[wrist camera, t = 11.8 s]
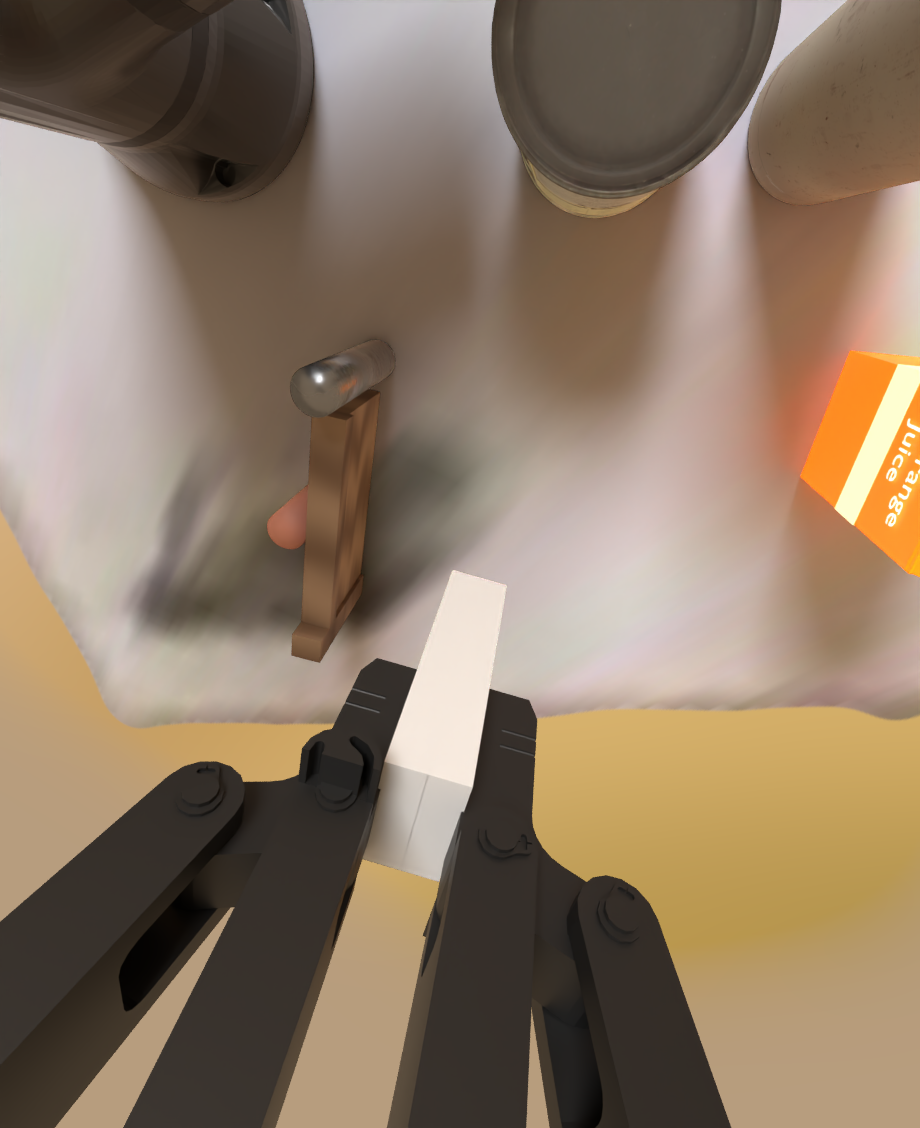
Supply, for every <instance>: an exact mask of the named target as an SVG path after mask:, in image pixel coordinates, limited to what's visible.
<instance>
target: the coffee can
mask: <svg viewBox="0 0 920 1128" xmlns="http://www.w3.org/2000/svg"><path fill="white" fill-rule="evenodd" d="M781 1H782V0H496V2H495V8H494V16H493V22H492V68H493V76H494V82H495V88H496V93H497V97H498V101H499V104H500V108H501V111H502V114H503V117H504V120H505V122H506V124H507V127H508V129H509V131H510V133H511V135H512V136H513V138H514V140H515V142H516V144H517V145H518V147H519V149H520V150H521V153H522V157H523V160H524V164H525V166H526V168H527V171H528V173H529V175H530V177H531V179H532V181H533V182H534V184H535V186H536V187H537V189H538V190H539V191H540V192H541V194H542V195H543V196H544V197H545V198H546V199H548V200H549V201H550V202H551V203H552V204H554V205H555V206H557V207H558V208H560V209H562V210H564V211H565V212H568V213H570V214H573V215H577V216H581V217H587V218H602V217H609V216H614V215H617V214H620V213H623V212H626V211H628V210H630V209H632V208H634V207H635V206H637V205H639V204H640V203H642V202H643V201H645V200H646V199H647V198H649V197H650V196H651V195H652V194H654V193H655V192H656V191H657V190H658V189H659V188H661V187H663V186H665V185H667V184H669V183H671V182H673V181H674V180H676V179H678V178H679V177H681V176H682V175H684V174H685V173H687V172H688V171H690V170H691V169H693V168H694V167H695V166H696V165H698V164H699V163H700V162H701V161H703V160H704V159H705V158H706V157H707V156H708V155H709V154H710V153H711V152H712V151H713V150H714V149H715V148H716V147H717V146H718V145H719V144H720V143H721V142H722V141H723V140H724V138H725V137H726V136H727V135H728V133H729V132H730V131H731V129H732V128H733V126H734V125H735V124H736V122H737V121H738V119H739V118H740V117H741V115H742V114H743V112H744V110H745V109H746V107H747V106H748V104H749V102H750V100H751V99H752V97H753V95H754V93H755V91H756V89H757V87H758V85H759V83H760V80H761V78H762V76H763V73H764V71H765V68H766V65H767V63H768V60H769V57H770V54H771V51H772V48H773V45H774V40H775V36H776V32H777V28H778V23H779V18H780V13H781Z"/></svg>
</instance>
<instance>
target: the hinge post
mask: <svg viewBox="0 0 920 1128" xmlns="http://www.w3.org/2000/svg"><path fill="white" fill-rule="evenodd" d="M394 367H395V356H394V353H393V351H392V349H391V348H390V346H389V345H388V344H386V343H385V342H383V341H381V340H370V341H367V342H365V343H362V344H360V345H357V346H355V347H352V348H350V349H347V350H345V351H342V352H340V353H337V354H335V355H332V356H330V357H327V358H325V359H322V360H320V361H317V362H315V363H312V364H310V365H307V366H305V367H302V368H300V369H299V370H298V371H297V372H296V373H295V374H294V375H293V377H292V380H291V385H290V391H291V396H292V399H293V401H294V403H295V404H296V406H297V407H298V408H299V409H300V410H301V411H302V412H303V413H305V414H306V415H308V416H311V417H315V418H321V417H325V416H328V415H329V414H331V413H333V412H334V411H336V410H337V409H339V408H340V407H342V406H343V405H345V404H346V403H348V402H350V401H351V400H353V399H354V398H356V397H357V396H359V395H360V394H362V393H363V392H365V391H366V390H368V389H369V388H371V387H373V386H374V385H376V384H377V383H379V382H380V381H382V380H383V379H385V378H386V377H388V376H389V375H390V374H391V373H392V372H393V370H394Z"/></svg>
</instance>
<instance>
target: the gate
mask: <svg viewBox="0 0 920 1128" xmlns="http://www.w3.org/2000/svg"><path fill="white" fill-rule="evenodd" d="M379 401H380V392H378V391H374V390H370V389H368V390H366V391H365V392H363V393H362V394H360V395H359V396H357V397H356V398H354V399H353V400H351V401H350V402H348V403H346V404H345V405H343V406H342V407H340V408H339V409H337V410H336V411H334V412H333V413H331V414H329V415H328V416H325V417H321V418H315V417H312V421H311V440H310V460H309V480H308V499H307V519H306V539H305V558H304V578H303V598H302V617H301V623H300V624H299V626H298V627H297V629H296V630H295V631H294V633H293V634H292V655H291V656H295V657H299V658H303V659H307V660H311V661H315V662H319V663H320V661H321V660H322V658H323V656H324V655H325V653H326V652H327V650H328V648H329V647H330V645H331V643H332V642H333V640H334V638H335V637H336V635H337V633H338V632H339V630H340V628H341V627H342V625H343V624H344V622H345V620H346V619H347V617H348V615H349V614H350V612H351V610H352V609H353V607H354V605H355V604H356V602H357V600H358V599H359V597H360V595H361V594H362V586H363V577H364V575H362V574H361V565H362V556H363V547H364V538H365V528H366V519H367V510H368V501H369V492H370V483H371V474H372V465H373V456H374V447H375V438H376V428H377V419H378V410H379Z"/></svg>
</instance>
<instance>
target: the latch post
mask: <svg viewBox="0 0 920 1128" xmlns="http://www.w3.org/2000/svg"><path fill="white" fill-rule="evenodd" d="M307 499H308V485H307V486H305V487H304V488H303V489H302V490H301V491H300V492H299V493H297V494H296V495H295V496H294V497H293V498H292V499H291V500H289V501H288V502H287V503H286V504H285V505H284V506H282V507H281V508H280V509H279V510H278V511H277V512H276V513H274V514H273V515H272V516H271V517H270V518H269V520H268V523H267V530H268V534H269V536H270V537H271V539H272V540H273V541H274V542H275V543H276V544H277V545H279V546H280V547H283V548H286V549H296V548H298V547H300V546H301V545H302V544H303V543H304V542H305V539H306V519H307Z"/></svg>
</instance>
